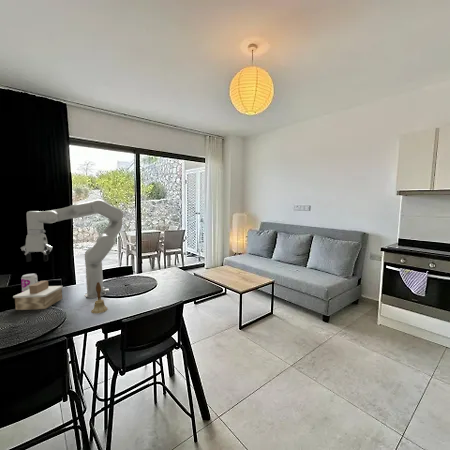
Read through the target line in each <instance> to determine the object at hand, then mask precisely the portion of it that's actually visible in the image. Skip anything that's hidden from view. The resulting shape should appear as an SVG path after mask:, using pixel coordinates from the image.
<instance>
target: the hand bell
mask: <svg viewBox="0 0 450 450" xmlns="http://www.w3.org/2000/svg"><path fill="white" fill-rule="evenodd" d="M96 292H97V298H96V300H95V301H94V306H93V308H92V309H91V311H90V313H92V314H94V315H95V314H96V315H97V314H102V313H105V312H107V311H108V310H109V309H108V307H107V306H106V305H105V301H104V300H103V299H102V298H101V297H102V296H101V295H100V292H101V285H100V283H99V282H97V285H96Z"/></svg>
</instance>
